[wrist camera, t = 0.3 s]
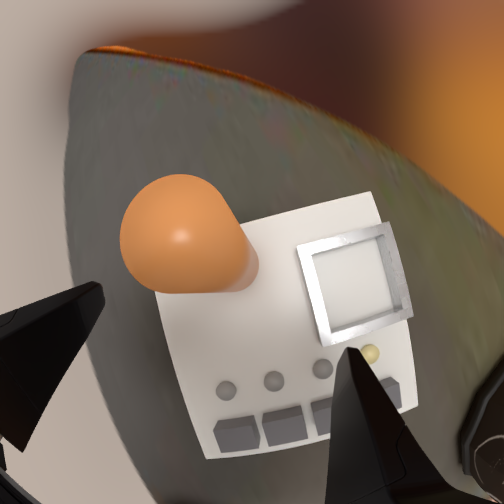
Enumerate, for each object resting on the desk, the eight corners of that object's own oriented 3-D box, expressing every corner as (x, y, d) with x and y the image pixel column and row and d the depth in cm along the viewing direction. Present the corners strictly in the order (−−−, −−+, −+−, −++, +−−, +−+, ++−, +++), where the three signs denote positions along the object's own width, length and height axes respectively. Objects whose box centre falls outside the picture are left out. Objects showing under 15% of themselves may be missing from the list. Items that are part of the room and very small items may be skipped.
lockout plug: (265, 284, 22) (245, 276, 9) (211, 297, 22) (130, 305, 10) (251, 231, 23) (216, 159, 10) (199, 245, 23) (114, 195, 10)
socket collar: (403, 314, 21) (413, 315, 19) (319, 342, 21) (322, 347, 19) (380, 226, 22) (389, 221, 20) (295, 250, 22) (296, 246, 20)
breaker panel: (412, 401, 20) (427, 413, 17) (209, 452, 22) (200, 469, 18) (366, 195, 24) (377, 182, 20) (152, 253, 25) (136, 247, 22)
